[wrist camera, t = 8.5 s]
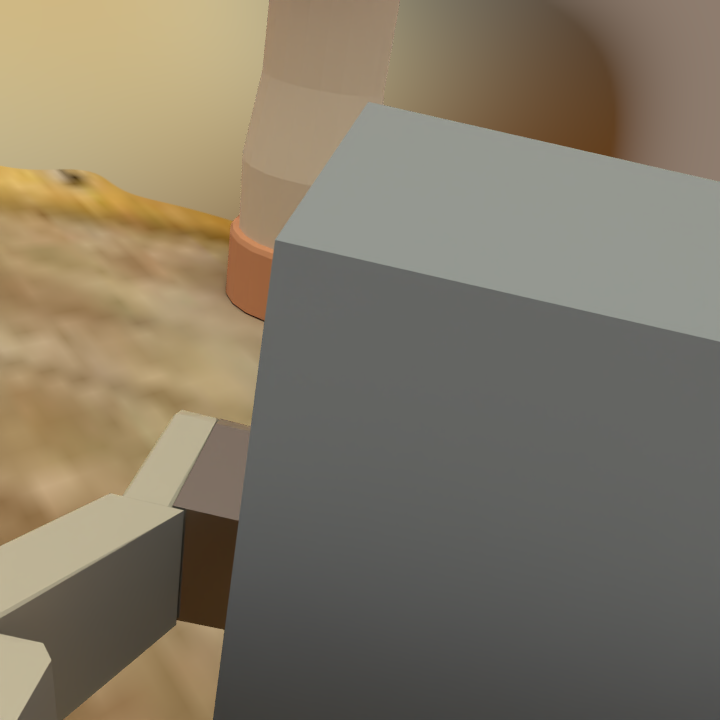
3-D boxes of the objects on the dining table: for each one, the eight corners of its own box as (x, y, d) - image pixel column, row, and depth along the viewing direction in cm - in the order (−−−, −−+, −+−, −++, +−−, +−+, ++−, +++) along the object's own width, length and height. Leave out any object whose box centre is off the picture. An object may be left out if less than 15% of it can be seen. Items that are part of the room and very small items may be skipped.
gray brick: (513, 1014, 8) (1122, 433, 3) (185, 938, 9) (275, 239, 3) (493, 693, 12) (759, 190, 7) (267, 640, 12) (368, 101, 7)
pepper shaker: (340, 267, 38) (408, -126, 28) (379, 329, 33) (481, -136, 23) (217, 263, 36) (244, -170, 26) (236, 329, 30) (281, -194, 20)
